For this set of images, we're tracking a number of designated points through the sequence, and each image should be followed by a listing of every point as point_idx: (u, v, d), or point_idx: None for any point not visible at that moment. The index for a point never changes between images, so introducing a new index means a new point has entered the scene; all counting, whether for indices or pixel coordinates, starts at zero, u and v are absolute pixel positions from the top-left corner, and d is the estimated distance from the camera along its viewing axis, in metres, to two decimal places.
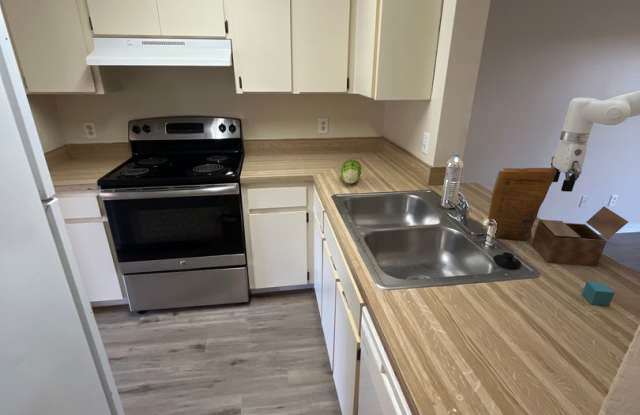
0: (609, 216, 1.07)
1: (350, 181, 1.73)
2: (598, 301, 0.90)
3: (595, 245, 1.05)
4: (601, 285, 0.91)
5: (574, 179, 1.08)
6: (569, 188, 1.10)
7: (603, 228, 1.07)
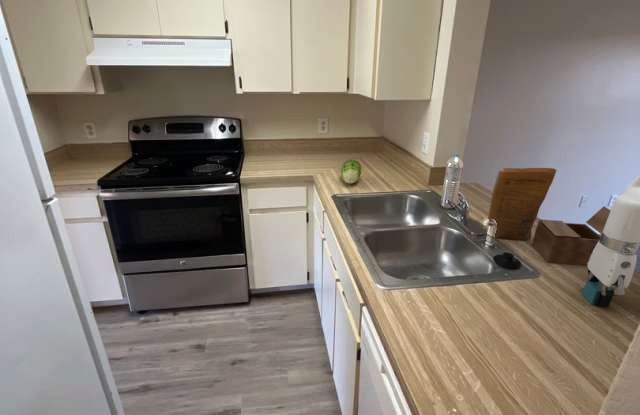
0: None
1: (350, 181, 1.73)
2: None
3: (595, 245, 1.05)
4: (601, 285, 0.91)
5: (612, 295, 0.86)
6: (605, 304, 0.88)
7: (603, 228, 1.07)
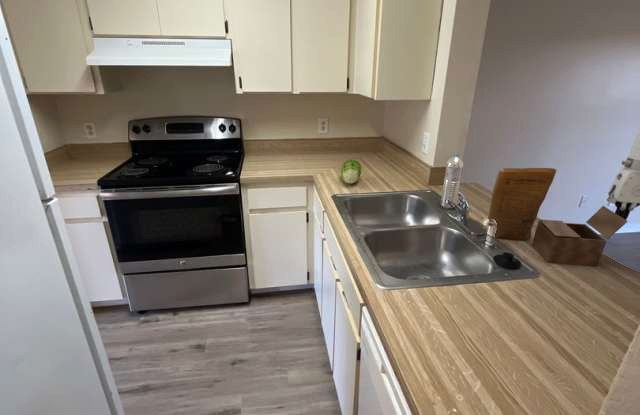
0: (608, 216, 1.07)
1: (350, 181, 1.73)
2: None
3: (595, 245, 1.05)
4: None
5: (617, 206, 1.05)
6: None
7: (603, 228, 1.07)
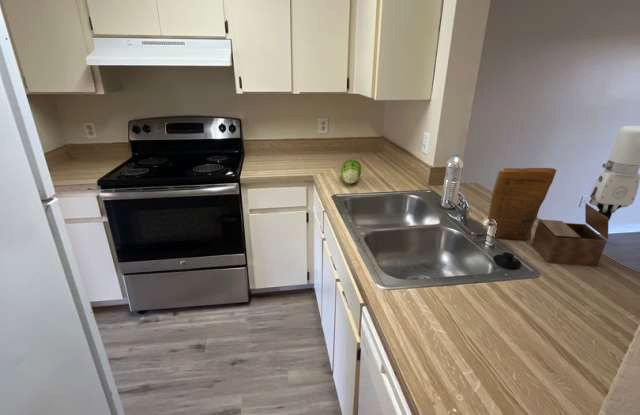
0: (594, 214, 1.08)
1: (350, 181, 1.73)
2: None
3: (595, 245, 1.05)
4: None
5: (599, 208, 1.06)
6: None
7: (598, 228, 1.07)
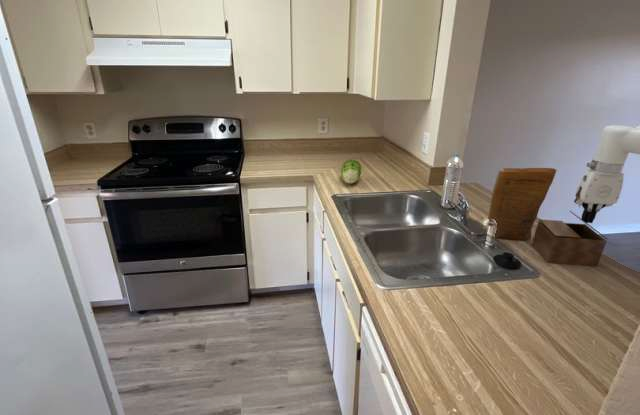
0: None
1: (350, 181, 1.73)
2: None
3: (595, 245, 1.05)
4: None
5: (584, 208, 1.06)
6: (583, 217, 1.08)
7: None
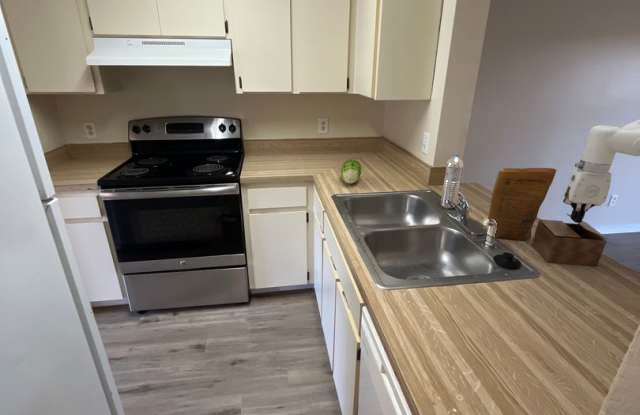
0: None
1: (350, 181, 1.73)
2: None
3: (595, 245, 1.05)
4: None
5: (573, 207, 1.07)
6: (572, 217, 1.08)
7: (593, 230, 1.07)
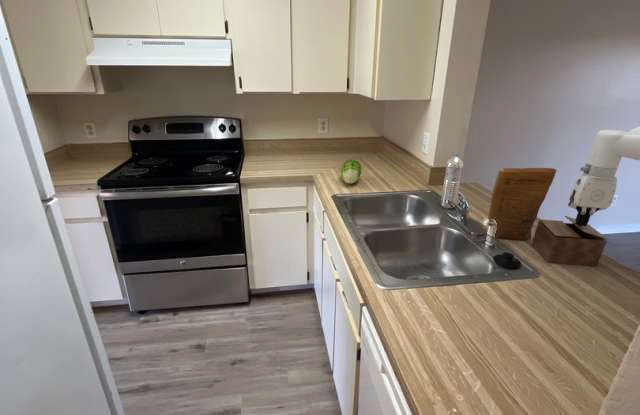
0: None
1: (350, 181, 1.73)
2: None
3: (595, 245, 1.05)
4: None
5: (578, 211, 1.07)
6: (577, 220, 1.08)
7: None
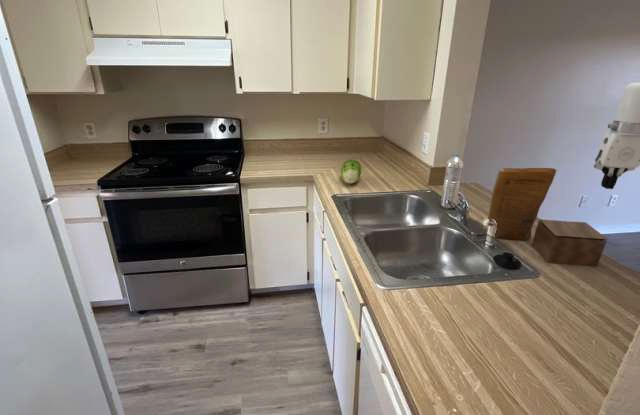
0: None
1: (350, 181, 1.73)
2: None
3: (595, 245, 1.05)
4: None
5: (605, 173, 1.01)
6: (603, 183, 1.03)
7: None
